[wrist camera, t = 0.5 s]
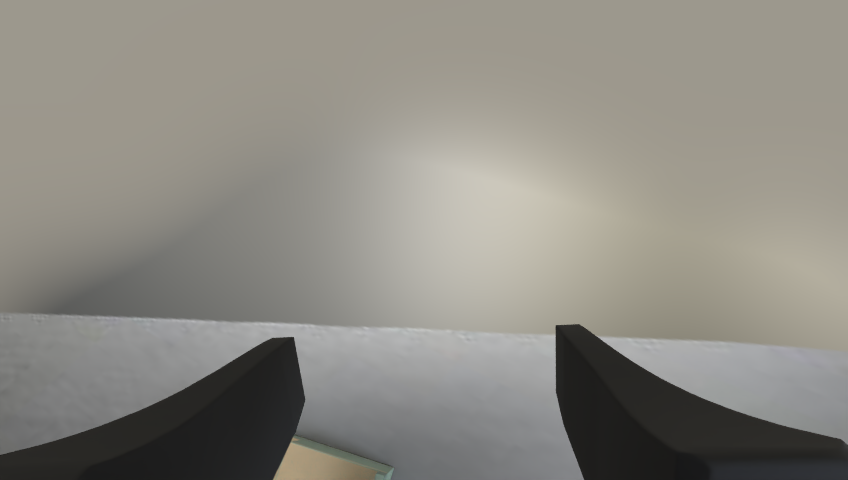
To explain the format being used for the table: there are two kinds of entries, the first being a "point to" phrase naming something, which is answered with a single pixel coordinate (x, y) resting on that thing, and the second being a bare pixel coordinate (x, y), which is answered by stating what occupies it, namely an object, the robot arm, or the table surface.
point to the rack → (327, 464)
